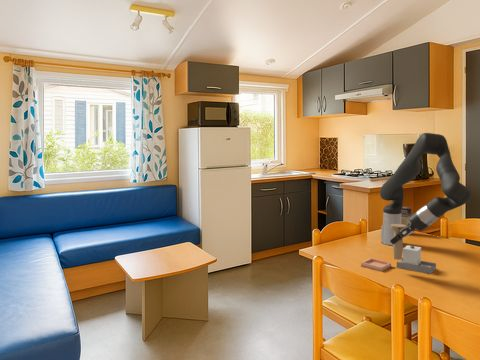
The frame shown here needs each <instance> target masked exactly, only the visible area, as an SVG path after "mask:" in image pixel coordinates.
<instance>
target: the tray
mask: <svg viewBox="0 0 480 360" xmlns="http://www.w3.org/2000/svg"><path fill="white" fill-rule="evenodd" d="M360 267H361V268H362V267H363V268H365V269H366V268H367V269H370V270H373V271H378V272H384V271H386V270H388V269H389V268H391V267H392V262H390V261H385V260H381V259H377V258H373V257H369V258H368V259H366V260H363V261H361V264H360Z"/></svg>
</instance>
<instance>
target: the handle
mask: <svg viewBox="0 0 480 360" xmlns="http://www.w3.org/2000/svg"><path fill="white" fill-rule="evenodd" d="M405 226H406V225H403V224H391V229H393V230H394V237H395V236H396V235H397V234H398V233H400V230H402V229H403V228H404V227H405ZM400 237H401V235H400ZM403 238H404V237H403ZM403 238H402V239H401V240H399V241H398V242H396V243H395V244H393V245H392V253H393V255H392V256H393V259H394V260H397V261H402V257H403V248H404V245H403V244H404V239H403Z"/></svg>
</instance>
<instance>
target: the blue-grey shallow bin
mask: <svg viewBox="0 0 480 360" xmlns="http://www.w3.org/2000/svg"><path fill="white" fill-rule="evenodd" d="M401 257H402V259H401V260H400V261H396V268H399V269H403V270H407V271H408V270H410V271H415V272H419V273H426V274H431V275H432V274H433V273H434V271H436V269H437V268H436V267H437V263H436V262H430V261H424V260H421V263H420V264H419V265H412V264H407V263H403V256H401Z"/></svg>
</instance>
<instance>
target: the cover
mask: <svg viewBox="0 0 480 360" xmlns="http://www.w3.org/2000/svg"><path fill="white" fill-rule="evenodd" d="M402 257H403V263H407V264H412V265H419V264H420V263H421V261H422V247H421V246H415V245H406V246H404V247H403V252H402Z"/></svg>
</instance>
